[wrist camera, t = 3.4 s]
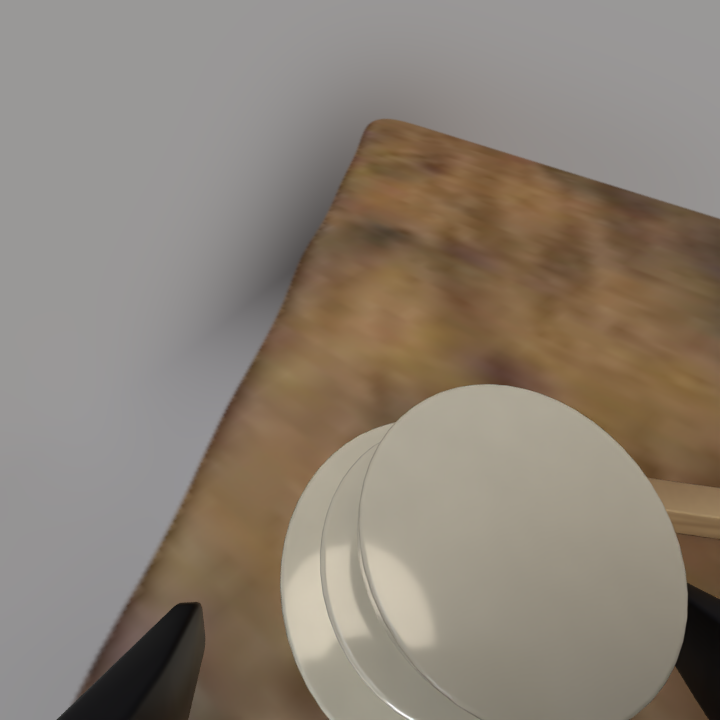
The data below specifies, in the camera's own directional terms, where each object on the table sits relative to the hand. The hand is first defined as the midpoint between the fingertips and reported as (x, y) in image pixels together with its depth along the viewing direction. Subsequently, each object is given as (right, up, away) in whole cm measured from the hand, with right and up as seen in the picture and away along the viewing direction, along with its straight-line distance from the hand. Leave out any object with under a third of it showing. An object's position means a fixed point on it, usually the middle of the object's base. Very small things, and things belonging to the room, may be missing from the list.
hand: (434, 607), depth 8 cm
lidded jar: (0, -4, +7) cm, 8 cm away
